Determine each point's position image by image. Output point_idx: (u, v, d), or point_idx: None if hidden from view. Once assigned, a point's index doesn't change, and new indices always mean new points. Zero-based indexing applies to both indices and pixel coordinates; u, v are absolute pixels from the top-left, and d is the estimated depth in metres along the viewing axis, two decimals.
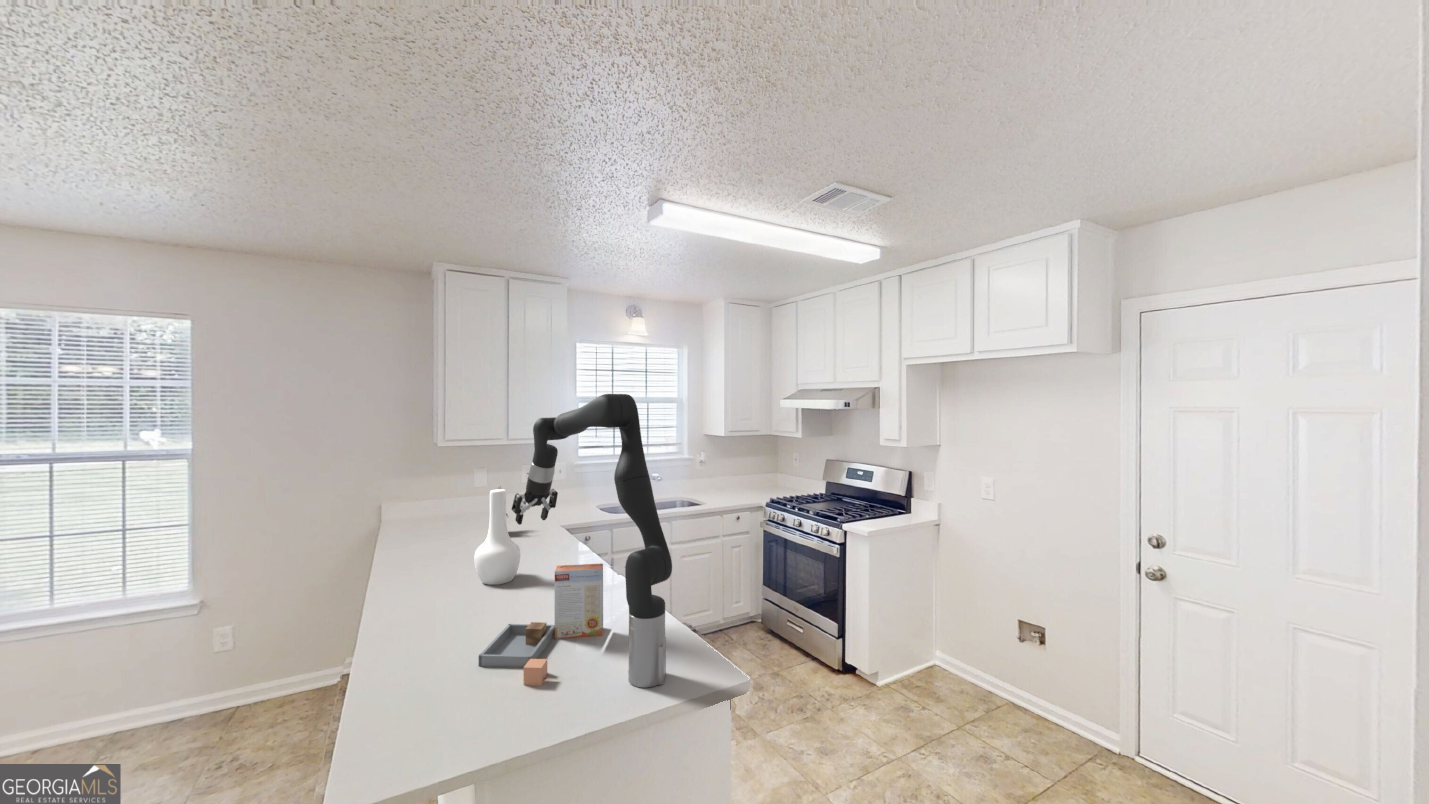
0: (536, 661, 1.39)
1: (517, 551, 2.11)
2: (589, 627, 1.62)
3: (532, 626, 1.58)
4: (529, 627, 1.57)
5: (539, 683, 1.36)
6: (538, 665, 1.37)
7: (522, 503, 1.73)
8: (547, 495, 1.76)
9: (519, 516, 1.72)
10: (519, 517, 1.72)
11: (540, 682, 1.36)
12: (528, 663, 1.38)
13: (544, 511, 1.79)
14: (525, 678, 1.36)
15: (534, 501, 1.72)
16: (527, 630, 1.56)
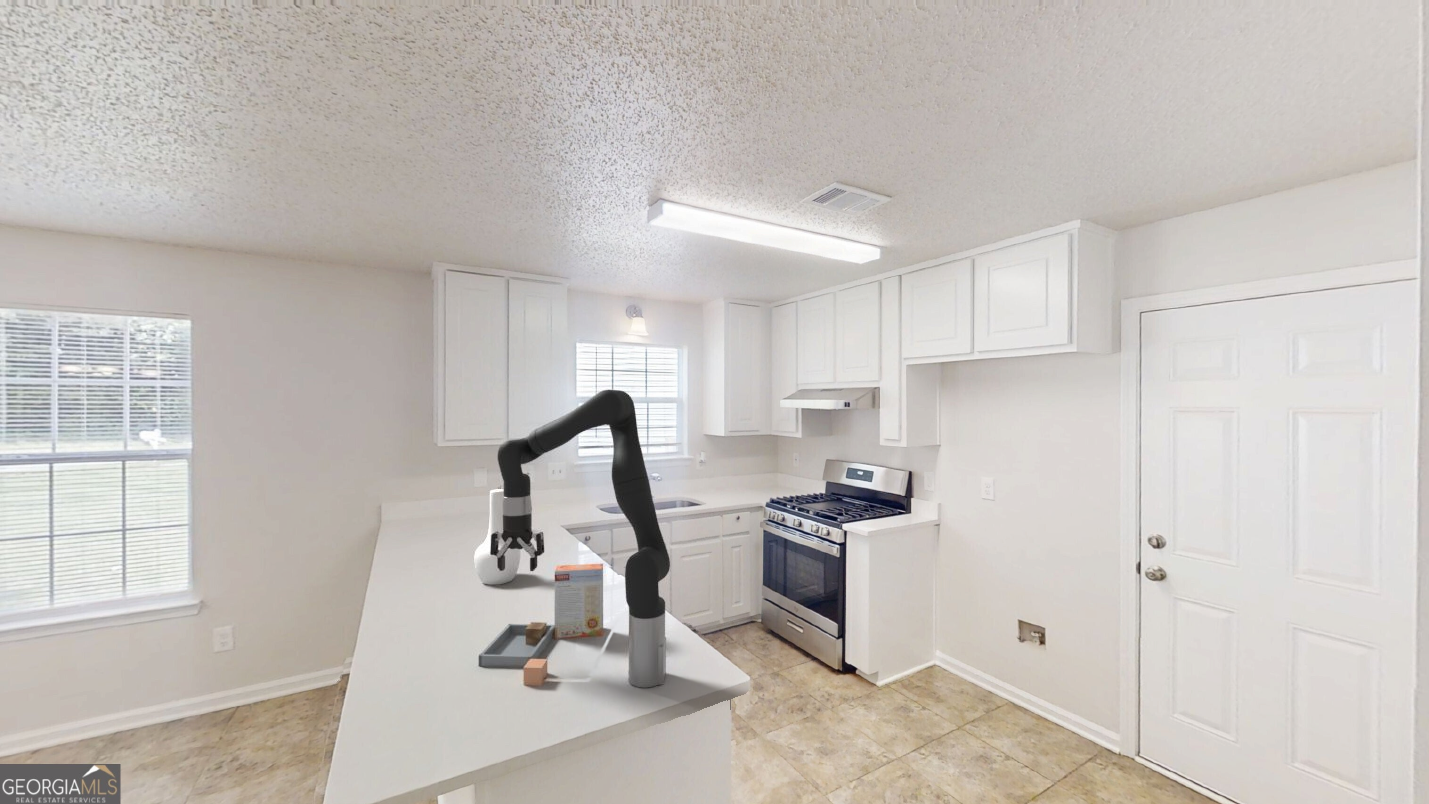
0: (536, 661, 1.39)
1: (517, 551, 2.11)
2: (589, 627, 1.62)
3: (532, 626, 1.58)
4: (529, 627, 1.57)
5: (539, 683, 1.36)
6: (538, 665, 1.37)
7: None
8: (527, 536, 1.49)
9: (498, 559, 1.50)
10: (498, 561, 1.50)
11: (540, 682, 1.36)
12: (528, 663, 1.38)
13: None
14: (525, 678, 1.36)
15: (508, 541, 1.49)
16: (527, 630, 1.56)
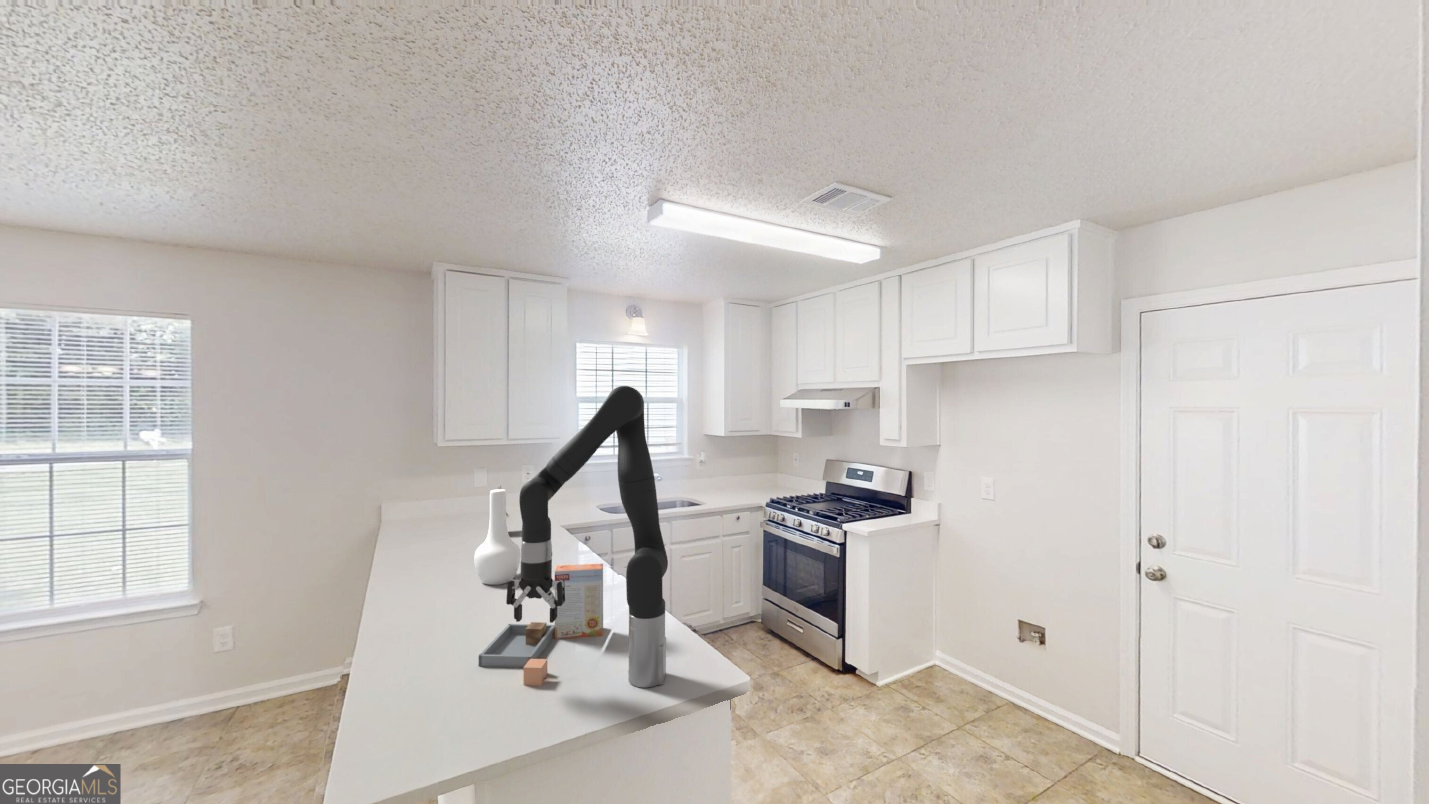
0: (536, 661, 1.39)
1: (517, 551, 2.11)
2: (589, 627, 1.62)
3: (532, 626, 1.58)
4: (529, 627, 1.57)
5: (539, 683, 1.36)
6: (538, 665, 1.37)
7: None
8: (547, 585, 1.37)
9: (515, 609, 1.38)
10: (515, 611, 1.38)
11: (540, 682, 1.36)
12: (528, 663, 1.38)
13: None
14: (525, 678, 1.36)
15: (526, 590, 1.36)
16: (527, 630, 1.56)
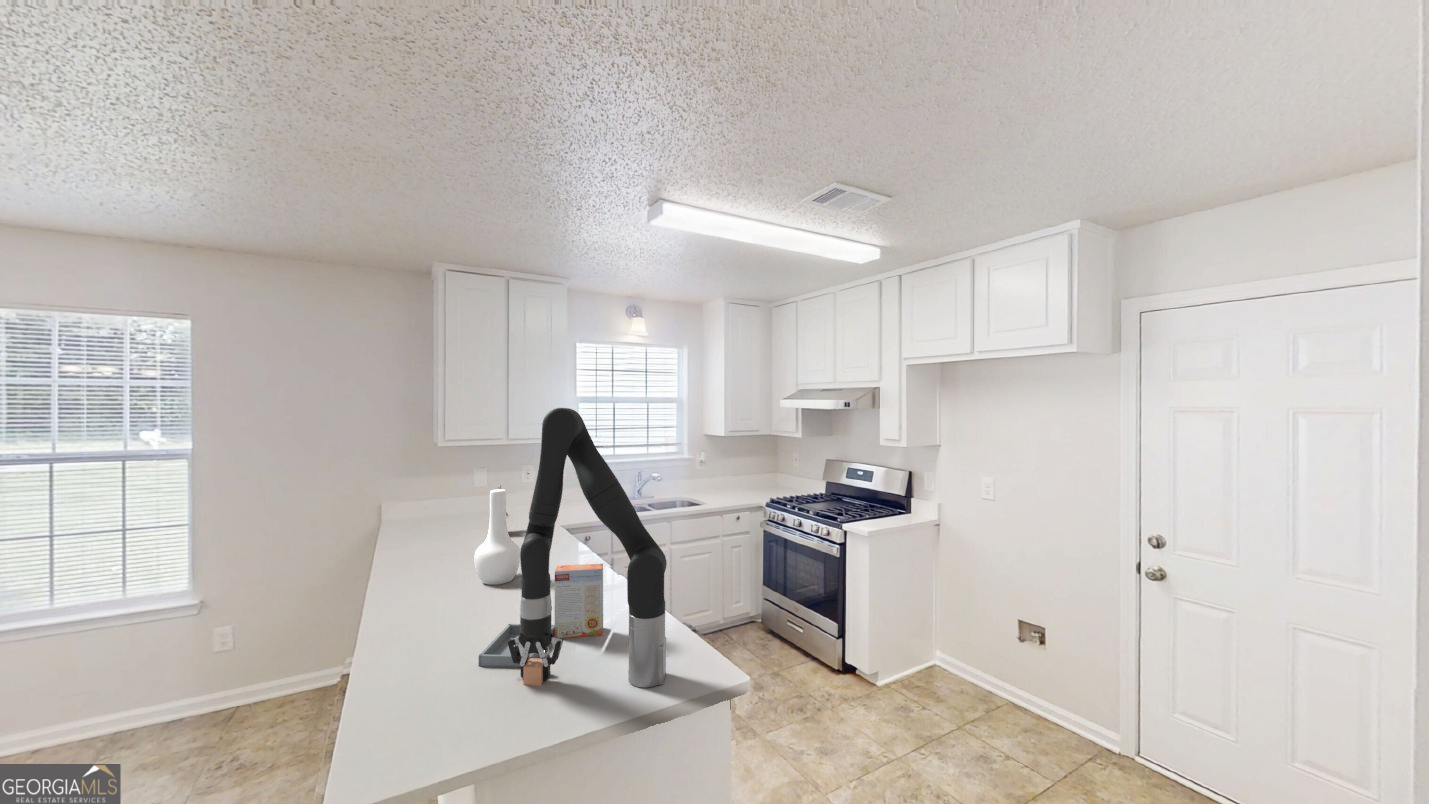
0: (536, 660, 1.39)
1: (517, 551, 2.11)
2: (589, 627, 1.62)
3: None
4: None
5: (539, 683, 1.36)
6: (538, 665, 1.37)
7: None
8: (546, 640, 1.37)
9: (521, 668, 1.38)
10: (522, 669, 1.38)
11: (540, 682, 1.36)
12: (527, 663, 1.38)
13: None
14: (525, 678, 1.36)
15: (527, 646, 1.36)
16: None
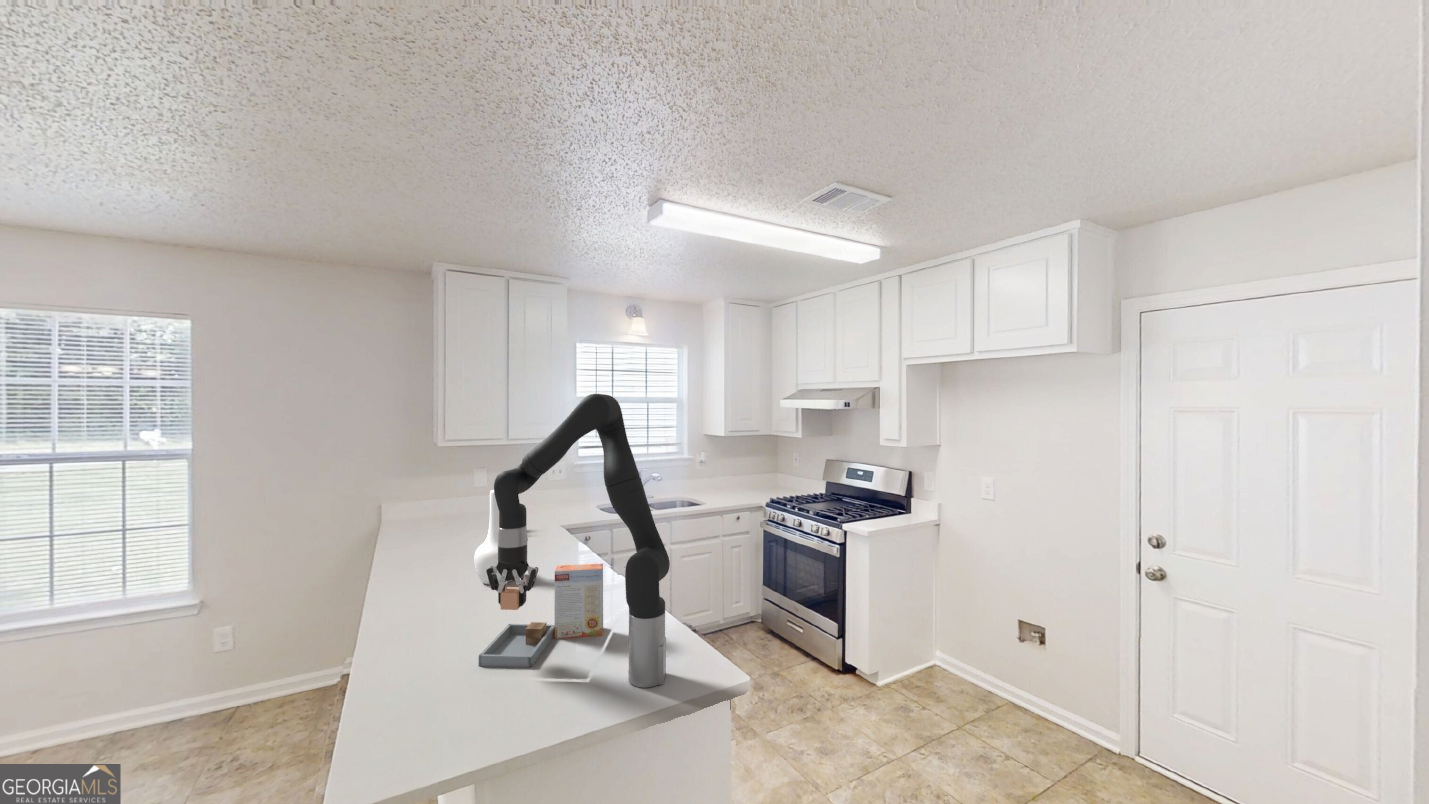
0: (513, 588, 1.49)
1: None
2: (589, 627, 1.62)
3: (532, 626, 1.58)
4: (529, 627, 1.57)
5: (515, 607, 1.46)
6: (515, 591, 1.47)
7: None
8: (522, 568, 1.47)
9: (499, 594, 1.48)
10: (499, 596, 1.48)
11: (516, 606, 1.46)
12: (505, 590, 1.48)
13: None
14: (502, 603, 1.46)
15: (504, 573, 1.46)
16: (527, 630, 1.56)
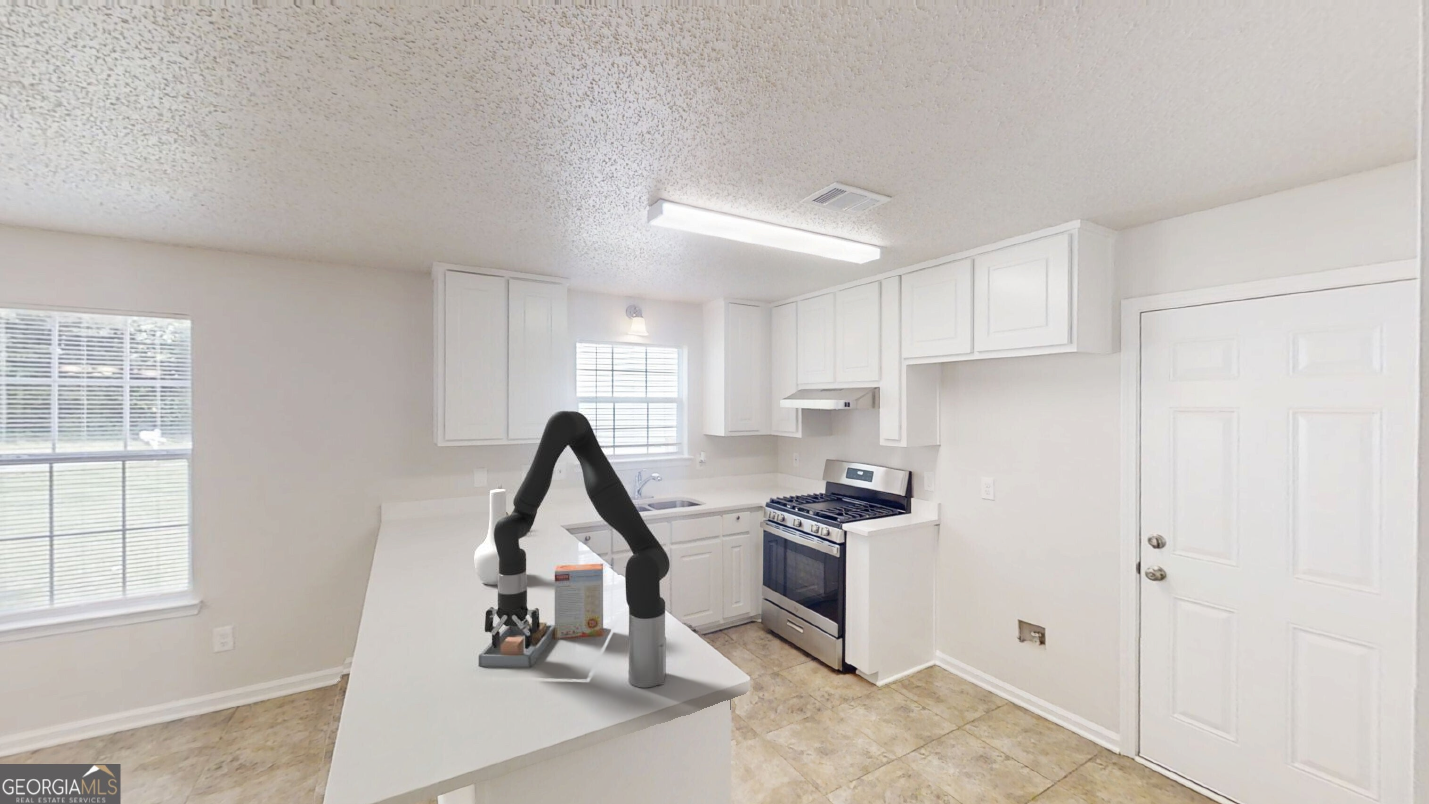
0: (513, 639, 1.49)
1: None
2: (589, 627, 1.62)
3: None
4: None
5: None
6: (515, 643, 1.47)
7: None
8: (522, 614, 1.47)
9: (493, 636, 1.48)
10: (493, 638, 1.48)
11: None
12: (505, 641, 1.48)
13: None
14: (502, 654, 1.46)
15: (503, 618, 1.47)
16: None
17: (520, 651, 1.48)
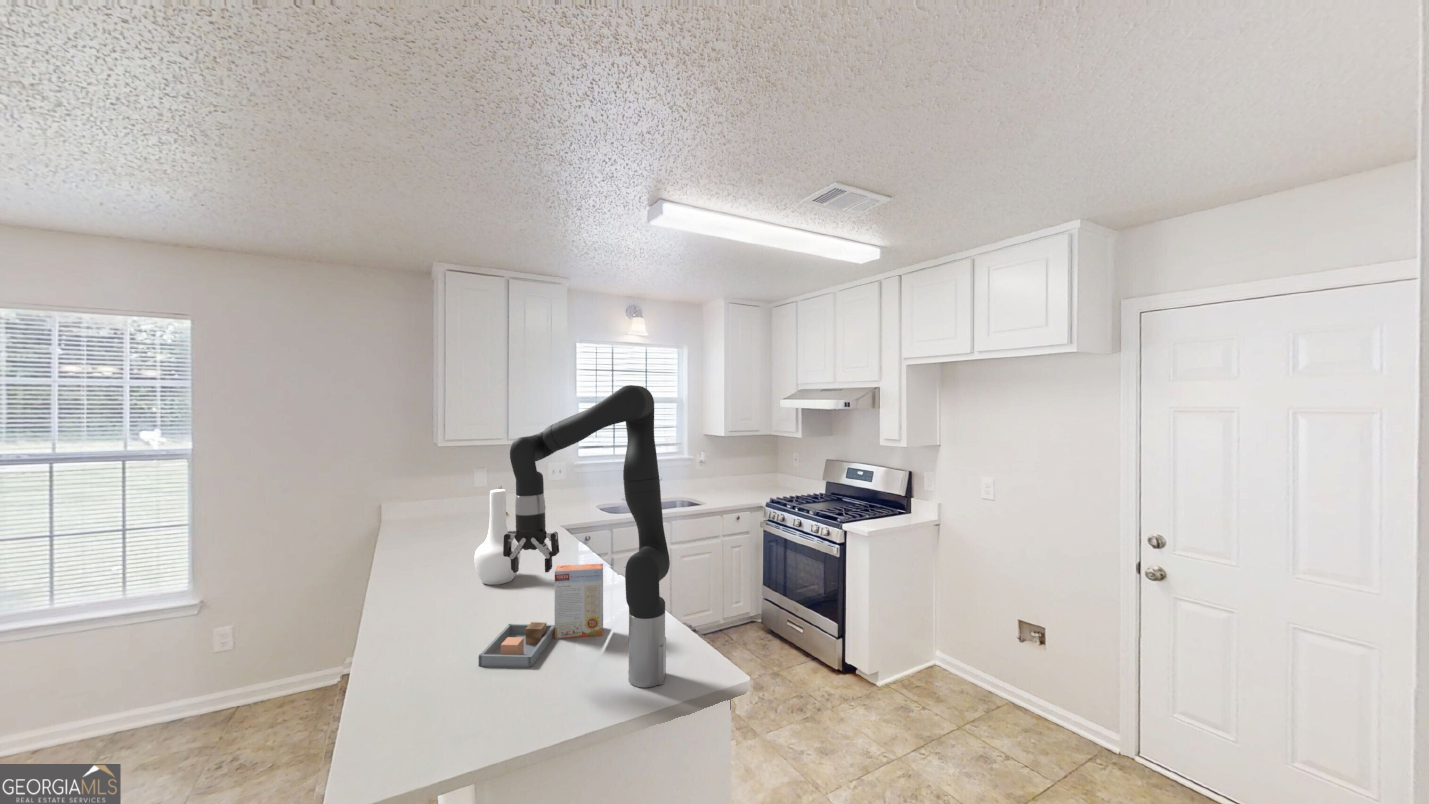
0: (513, 639, 1.49)
1: None
2: (589, 627, 1.62)
3: (532, 626, 1.58)
4: (529, 627, 1.57)
5: None
6: (515, 643, 1.47)
7: None
8: (541, 537, 1.44)
9: (512, 561, 1.45)
10: (512, 562, 1.45)
11: None
12: (505, 641, 1.48)
13: None
14: (502, 654, 1.46)
15: (522, 541, 1.43)
16: (527, 630, 1.56)
17: (520, 651, 1.48)
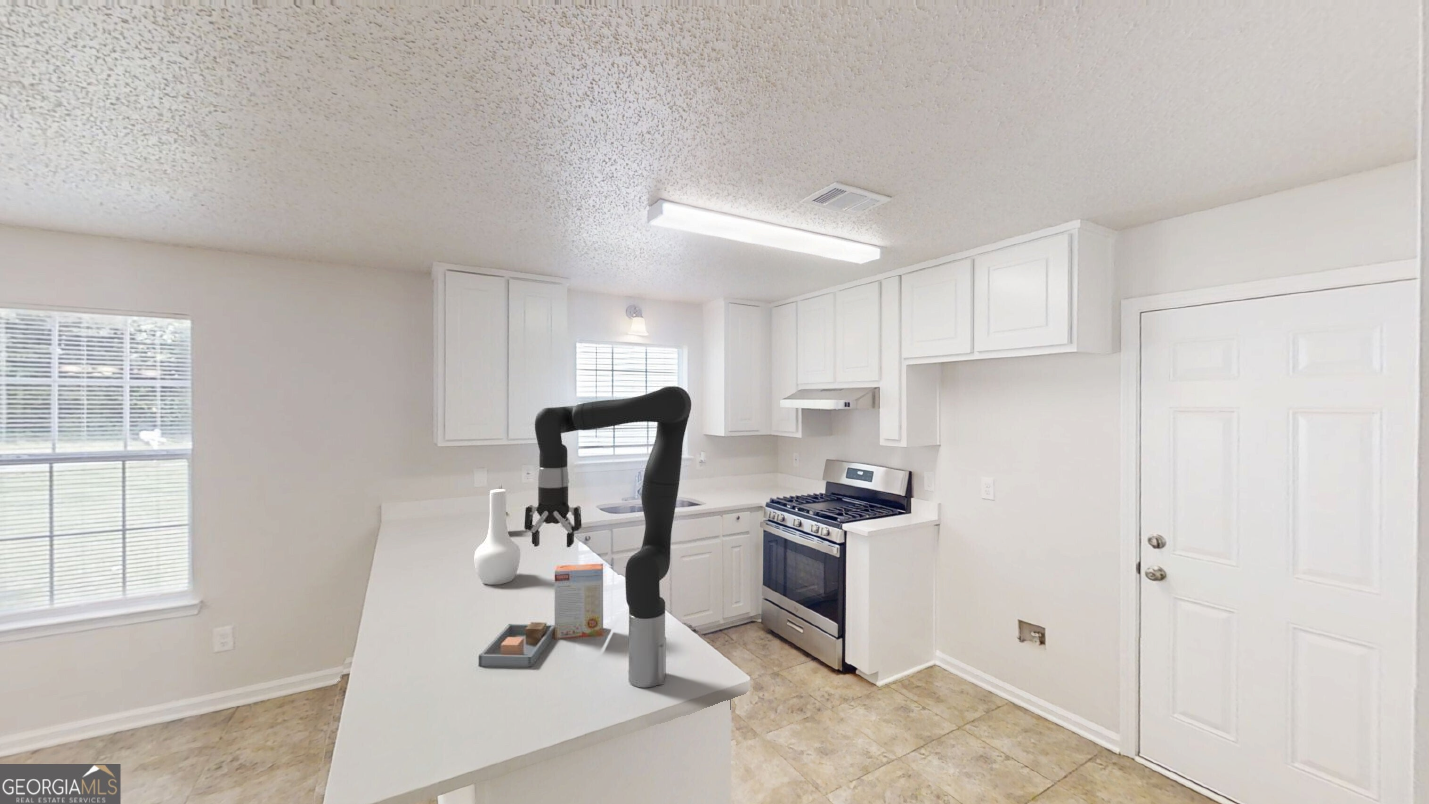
0: (513, 639, 1.49)
1: (517, 551, 2.11)
2: (589, 627, 1.62)
3: (532, 626, 1.58)
4: (529, 627, 1.57)
5: None
6: (515, 643, 1.47)
7: None
8: (564, 510, 1.41)
9: (533, 535, 1.41)
10: (533, 536, 1.41)
11: None
12: (505, 641, 1.48)
13: None
14: (502, 654, 1.46)
15: (544, 515, 1.40)
16: (527, 630, 1.56)
17: (520, 651, 1.48)
